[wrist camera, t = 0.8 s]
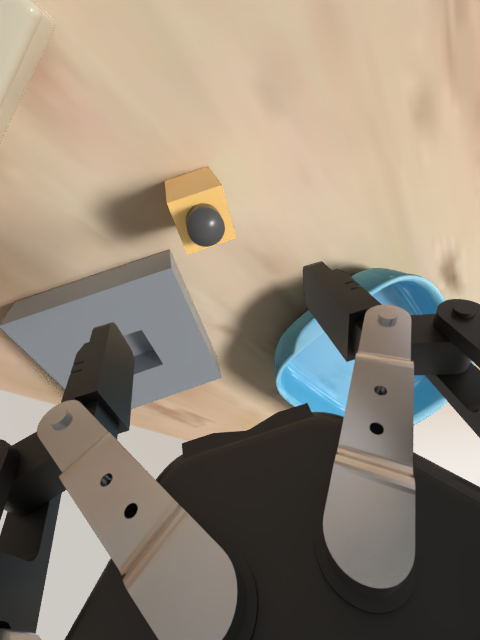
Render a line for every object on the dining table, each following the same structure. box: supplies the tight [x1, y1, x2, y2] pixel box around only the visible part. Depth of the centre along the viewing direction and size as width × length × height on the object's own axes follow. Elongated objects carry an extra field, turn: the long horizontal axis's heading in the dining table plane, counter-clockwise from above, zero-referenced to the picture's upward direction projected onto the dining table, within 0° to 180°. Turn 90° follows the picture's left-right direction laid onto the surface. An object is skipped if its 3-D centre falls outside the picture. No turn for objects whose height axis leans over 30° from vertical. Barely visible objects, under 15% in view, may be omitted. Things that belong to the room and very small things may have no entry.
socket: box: [0, 250, 221, 409], centre depth 32 cm, size 16×16×4 cm
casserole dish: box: [275, 268, 474, 425], centre depth 43 cm, size 37×22×7 cm, turn 43°
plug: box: [165, 167, 236, 255], centre depth 23 cm, size 4×4×8 cm
